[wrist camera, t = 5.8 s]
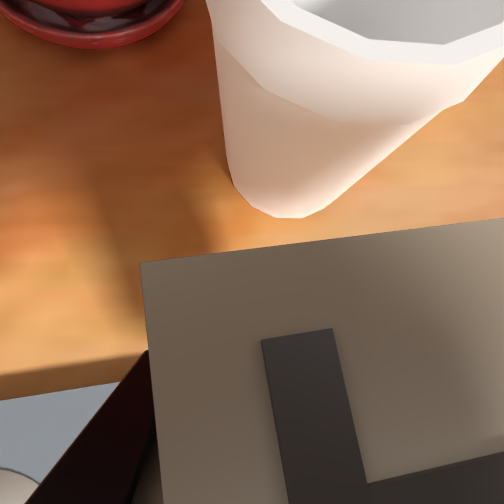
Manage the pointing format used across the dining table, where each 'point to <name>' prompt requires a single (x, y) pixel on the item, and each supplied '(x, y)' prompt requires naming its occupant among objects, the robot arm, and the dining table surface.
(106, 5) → the plant pot
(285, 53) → the foam cup
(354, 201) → the dining table surface
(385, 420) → the letter block
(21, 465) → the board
